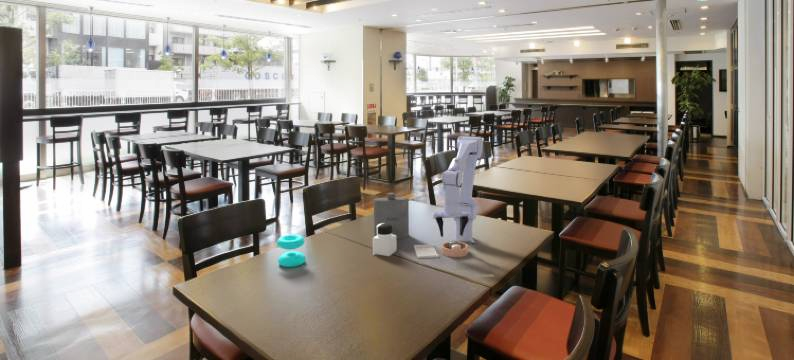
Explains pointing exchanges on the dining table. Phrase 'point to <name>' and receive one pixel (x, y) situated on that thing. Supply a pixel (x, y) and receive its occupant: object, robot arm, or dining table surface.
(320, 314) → the dining table surface
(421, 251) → the parts tray
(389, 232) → the medicine bottle
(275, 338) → the dining table surface
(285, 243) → the donuts
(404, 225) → the flask
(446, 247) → the terracotta bowl
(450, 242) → the grey rounded short piece
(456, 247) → the sandstone pebble
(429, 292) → the dining table surface
